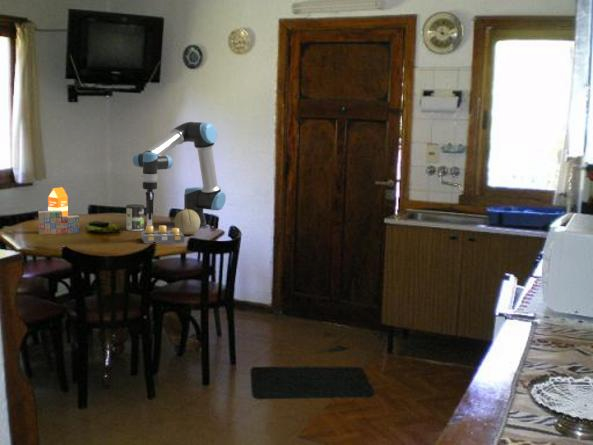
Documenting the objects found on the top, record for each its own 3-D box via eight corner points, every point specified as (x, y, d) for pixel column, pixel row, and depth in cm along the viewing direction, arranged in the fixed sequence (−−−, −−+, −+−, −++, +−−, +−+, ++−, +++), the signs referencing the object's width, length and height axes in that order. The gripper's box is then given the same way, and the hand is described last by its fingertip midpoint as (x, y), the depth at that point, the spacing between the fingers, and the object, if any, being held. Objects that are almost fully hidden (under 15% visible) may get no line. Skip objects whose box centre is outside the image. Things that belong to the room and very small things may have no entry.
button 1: (152, 234, 386) (152, 225, 385) (153, 235, 382) (153, 226, 381) (145, 234, 385) (145, 225, 384) (146, 236, 381) (146, 226, 380)
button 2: (178, 236, 391) (178, 227, 390) (179, 238, 387) (179, 229, 386) (171, 237, 390) (171, 228, 389) (172, 238, 386) (172, 229, 385)
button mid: (165, 234, 388) (165, 225, 388) (166, 235, 385) (166, 226, 384) (158, 234, 387) (158, 225, 386) (159, 235, 383) (159, 226, 382)
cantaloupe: (188, 238, 396) (189, 211, 394) (168, 234, 404) (169, 208, 401) (205, 234, 409) (206, 208, 406) (186, 231, 416) (186, 205, 414)
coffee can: (146, 228, 420) (147, 204, 418) (139, 231, 410) (139, 207, 408) (130, 227, 422) (130, 203, 419) (123, 230, 412) (123, 206, 410)
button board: (179, 237, 396) (179, 230, 396) (184, 242, 383) (184, 234, 382) (141, 238, 389) (141, 230, 389) (144, 243, 376) (144, 235, 376)
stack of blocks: (78, 231, 403) (78, 210, 401) (79, 233, 397) (79, 211, 395) (38, 232, 396) (38, 210, 394) (38, 234, 390) (38, 212, 388)
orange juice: (48, 220, 433) (47, 188, 429) (58, 218, 441) (57, 186, 438) (58, 221, 430) (58, 189, 427) (68, 219, 438) (67, 187, 435)
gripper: (141, 180, 384) (140, 223, 387) (144, 182, 371) (144, 227, 375) (155, 180, 386) (154, 223, 390) (158, 182, 374) (158, 227, 378)
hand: (149, 225), depth 383 cm, fingers closed
